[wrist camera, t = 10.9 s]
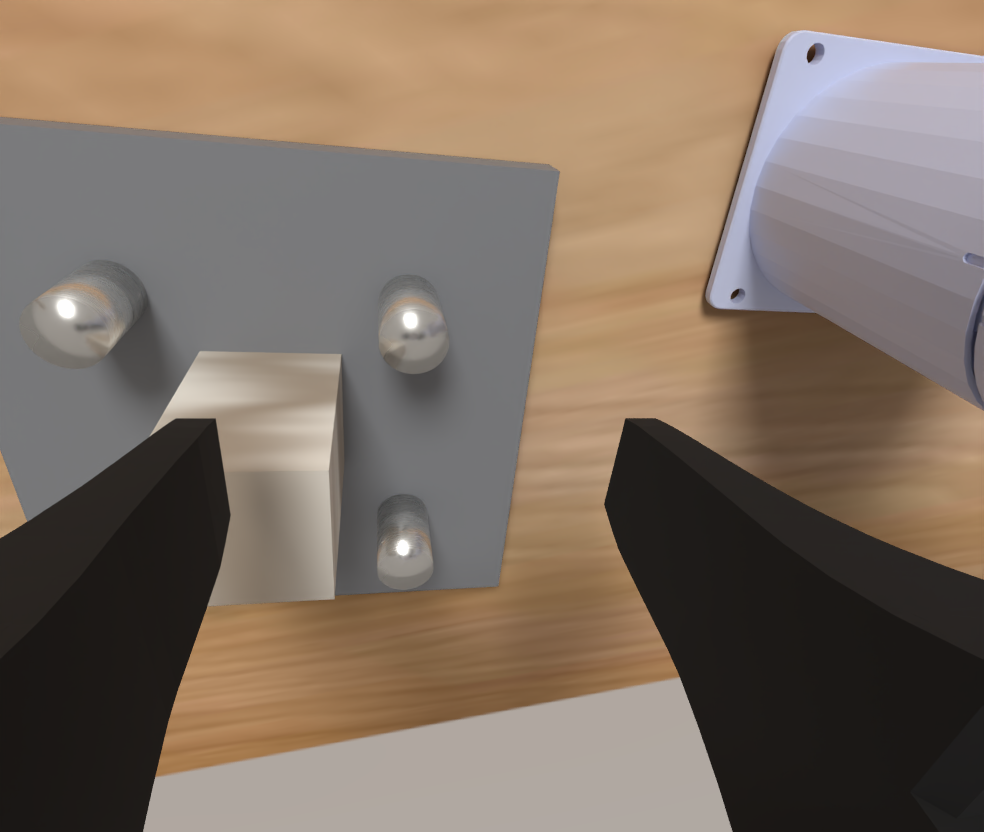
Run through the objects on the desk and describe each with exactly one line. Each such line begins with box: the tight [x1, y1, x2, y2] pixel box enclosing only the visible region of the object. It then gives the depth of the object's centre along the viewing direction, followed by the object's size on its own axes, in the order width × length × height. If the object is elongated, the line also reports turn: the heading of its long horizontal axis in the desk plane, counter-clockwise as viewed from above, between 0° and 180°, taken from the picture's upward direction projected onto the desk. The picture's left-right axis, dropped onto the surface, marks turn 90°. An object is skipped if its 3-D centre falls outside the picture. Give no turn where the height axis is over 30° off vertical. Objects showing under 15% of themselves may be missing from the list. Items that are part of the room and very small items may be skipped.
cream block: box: [150, 351, 344, 606], centre depth 16 cm, size 4×4×6 cm
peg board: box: [0, 117, 560, 595], centre depth 18 cm, size 16×16×4 cm
